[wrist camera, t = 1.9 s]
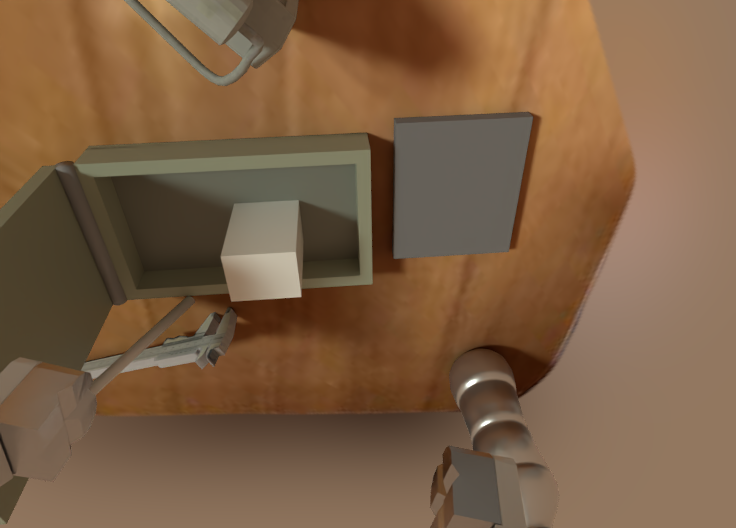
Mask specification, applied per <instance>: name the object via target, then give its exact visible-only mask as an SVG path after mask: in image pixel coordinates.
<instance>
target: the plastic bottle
mask: <svg viewBox="0 0 736 528" xmlns="http://www.w3.org/2000/svg"><path fill="white" fill-rule="evenodd" d="M449 376H450V389H451V392H452V394H453V396H454V399H455V401H456V403H457V405H458V407H459V408H460V410H461V412H462V415H463V417H464V420H465V423H466V425H467V428H468V431H469V434H470V438H471V442H472V445H473V450H474V451H480V452H485V453H490V454H491V455H497V456H502V457H507V458H512V459H514V461H515V463H516V465H517V471H518V477H519V483H520V490H521V496H522V502H523V508H524V514H525V520H526V526H527V528H552V526H553V523H554V519H555V516H556V513H557V507H558V502H559V493H558V485H557V482H556V480H555V478H554V476H553V474H552V472H551V471H550V469H549V467H548V465H547V463H546V462H545V460H544V458H543V456H542V455H541V453H540V451H539V450H538V448H537V446H536V444H535V442H534V440H533V437H532V435H531V433H530V431H529V430H528V427H527V424H526V422H525V420H524V418H523V414H522V411H521V407H520V404H519V400H518V397H517V394H516V384H515V380H514V376H513V372H512V369H511V368H510V366H509V365H508V363H507V362H506V360H505V358H504V357H503V356H502V355H500V354H498V353H496V352H494V351H492V350H489V349H474V350H471V351H468V352H466V353H464V354H462V355H461V356H460V357H459V358H458V359H457V360H456V361H455V362H454V364H453V366H452V368H451V370H450V375H449Z"/></svg>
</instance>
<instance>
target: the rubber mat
mask: <svg viewBox="0 0 736 528" xmlns="http://www.w3.org/2000/svg"><path fill="white" fill-rule="evenodd" d="M532 121H533V116H532V115H531V114H530V113H529V112H518V113H496V114H475V115H453V116H432V117H411V118H394V167H393V239H392V253H393V258H394V259H400V258H417V257H433V256H449V255H465V254H482V253H498V252H509V247H510V241H511V236H512V230H513V225H514V219H515V214H516V209H517V203H518V198H519V192H520V187H521V181H522V176H523V170H524V165H525V159H526V154H527V148H528V143H529V138H530V132H531V127H532Z"/></svg>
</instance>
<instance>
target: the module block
mask: <svg viewBox="0 0 736 528" xmlns="http://www.w3.org/2000/svg"><path fill="white" fill-rule="evenodd" d="M303 244H304V241H303V233H302V224H301V215H300V206H299V200H291V201H272V202H254V203H236V204H234V206H233V210H232V214H231V218H230V222H229V226H228V229H227V233H226V237H225V241H224V245H223V249H222V253H221V261H222V265H223V269H224V273H225V277H226V282H227V286H228V290H229V294H230V298H231V302H233V301H249V300H264V299H280V298H295V297H301V296H302V270H303Z"/></svg>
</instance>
